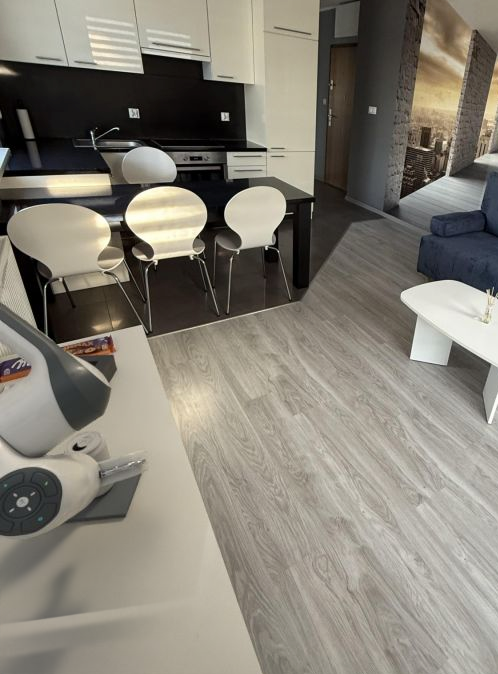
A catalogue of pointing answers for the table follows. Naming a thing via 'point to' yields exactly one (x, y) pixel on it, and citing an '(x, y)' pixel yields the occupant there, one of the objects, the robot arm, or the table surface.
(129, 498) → the mat
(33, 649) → the table surface
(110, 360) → the blender base
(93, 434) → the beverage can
